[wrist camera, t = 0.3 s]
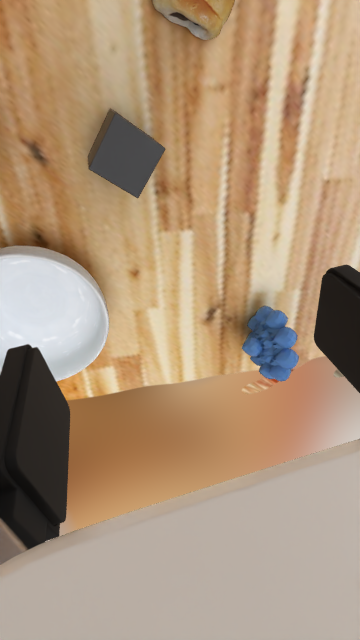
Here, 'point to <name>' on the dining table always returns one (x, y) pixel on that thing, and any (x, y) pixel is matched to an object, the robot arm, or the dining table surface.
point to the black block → (124, 154)
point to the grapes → (271, 344)
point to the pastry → (197, 15)
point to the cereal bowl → (51, 309)
